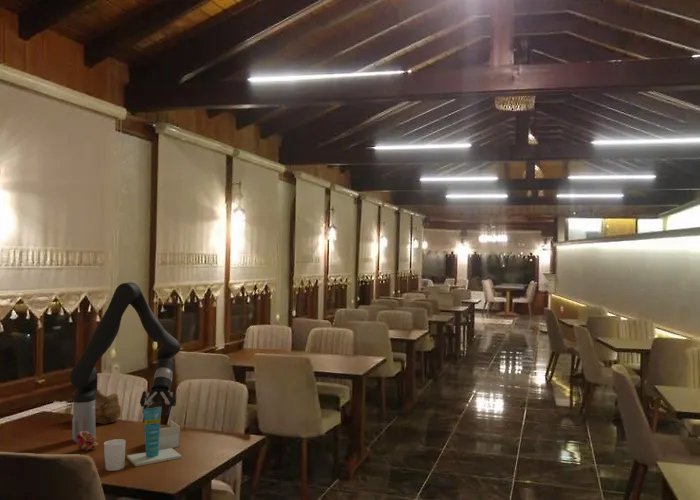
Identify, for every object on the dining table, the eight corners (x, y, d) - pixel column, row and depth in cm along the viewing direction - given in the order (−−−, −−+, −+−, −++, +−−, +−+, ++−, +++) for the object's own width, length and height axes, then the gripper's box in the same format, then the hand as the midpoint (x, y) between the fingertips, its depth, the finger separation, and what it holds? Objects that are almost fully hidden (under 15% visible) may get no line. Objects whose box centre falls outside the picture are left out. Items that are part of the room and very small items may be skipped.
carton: (153, 451, 263) (153, 430, 264) (144, 443, 275) (144, 424, 275) (180, 446, 270) (180, 426, 270) (170, 439, 281) (170, 420, 281)
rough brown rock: (64, 425, 312) (62, 395, 311) (92, 414, 327) (90, 386, 326) (97, 431, 302) (95, 401, 300) (124, 420, 316) (123, 391, 315)
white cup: (107, 465, 246) (107, 439, 246) (128, 464, 247) (128, 438, 247) (101, 472, 238) (101, 445, 238) (122, 471, 239) (122, 444, 239)
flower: (70, 450, 260) (82, 434, 261) (68, 440, 268) (80, 424, 269) (91, 460, 265) (102, 444, 266) (88, 450, 273) (100, 434, 274)
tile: (135, 466, 244) (135, 463, 244) (127, 457, 255) (127, 455, 255) (181, 457, 254) (181, 455, 254) (171, 450, 265) (171, 447, 265)
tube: (145, 458, 250) (145, 409, 251) (141, 455, 254) (140, 407, 255) (163, 454, 255) (163, 407, 255) (159, 452, 259) (158, 405, 259)
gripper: (144, 376, 267) (136, 409, 256) (178, 375, 268) (171, 409, 256) (147, 386, 273) (139, 419, 261) (180, 385, 273) (174, 419, 262)
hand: (155, 414), depth 259 cm, fingers open, 8 cm apart
